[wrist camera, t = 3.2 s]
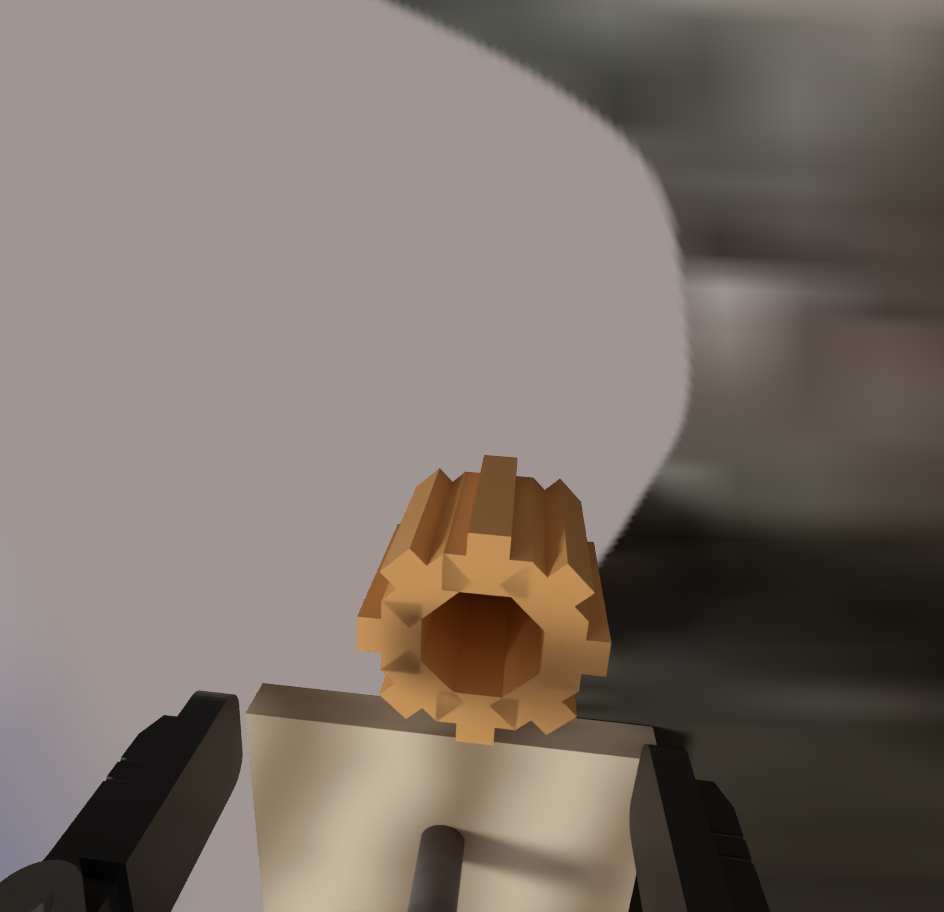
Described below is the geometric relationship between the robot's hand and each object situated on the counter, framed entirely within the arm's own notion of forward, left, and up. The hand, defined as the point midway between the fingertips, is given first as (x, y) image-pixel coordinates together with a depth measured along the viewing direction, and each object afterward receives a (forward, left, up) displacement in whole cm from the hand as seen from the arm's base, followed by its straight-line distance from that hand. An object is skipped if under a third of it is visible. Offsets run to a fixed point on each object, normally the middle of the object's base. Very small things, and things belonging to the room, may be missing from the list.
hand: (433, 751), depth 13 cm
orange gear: (-1, 0, -8) cm, 8 cm away
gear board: (0, +15, -8) cm, 17 cm away
